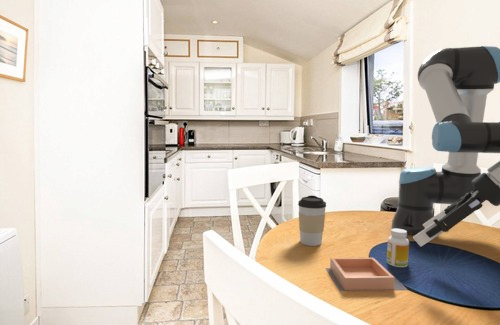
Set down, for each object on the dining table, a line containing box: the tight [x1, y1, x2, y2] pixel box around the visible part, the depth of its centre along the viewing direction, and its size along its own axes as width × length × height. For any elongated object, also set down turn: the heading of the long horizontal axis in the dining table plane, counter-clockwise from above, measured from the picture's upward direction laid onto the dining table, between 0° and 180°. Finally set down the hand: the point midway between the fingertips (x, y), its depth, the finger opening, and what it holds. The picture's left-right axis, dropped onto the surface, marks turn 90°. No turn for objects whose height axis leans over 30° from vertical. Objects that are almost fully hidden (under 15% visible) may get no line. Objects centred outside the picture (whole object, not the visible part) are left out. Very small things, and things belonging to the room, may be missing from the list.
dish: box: [329, 257, 396, 291], centre depth 81 cm, size 12×12×3 cm
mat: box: [325, 267, 409, 292], centre depth 81 cm, size 16×12×1 cm
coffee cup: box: [297, 195, 327, 247], centre depth 107 cm, size 9×9×15 cm
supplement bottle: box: [386, 228, 410, 268], centre depth 90 cm, size 5×5×10 cm
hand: (421, 234), depth 85 cm, fingers open, 13 cm apart
